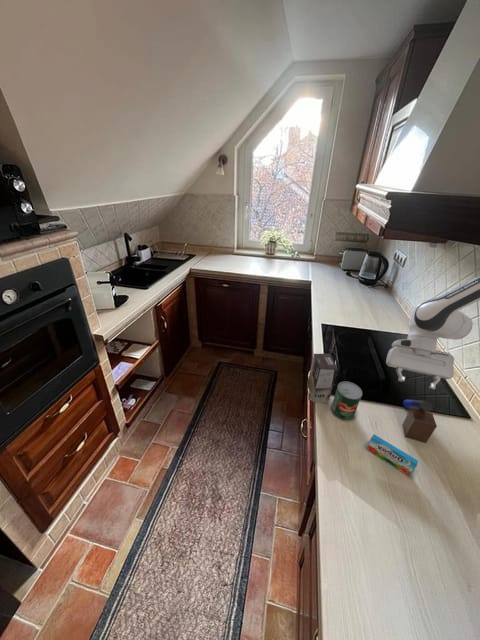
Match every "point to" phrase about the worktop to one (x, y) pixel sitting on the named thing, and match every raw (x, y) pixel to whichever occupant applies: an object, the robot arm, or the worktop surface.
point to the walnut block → (419, 425)
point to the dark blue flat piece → (418, 405)
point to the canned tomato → (346, 400)
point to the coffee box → (322, 377)
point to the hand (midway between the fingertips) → (416, 385)
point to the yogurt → (392, 455)
